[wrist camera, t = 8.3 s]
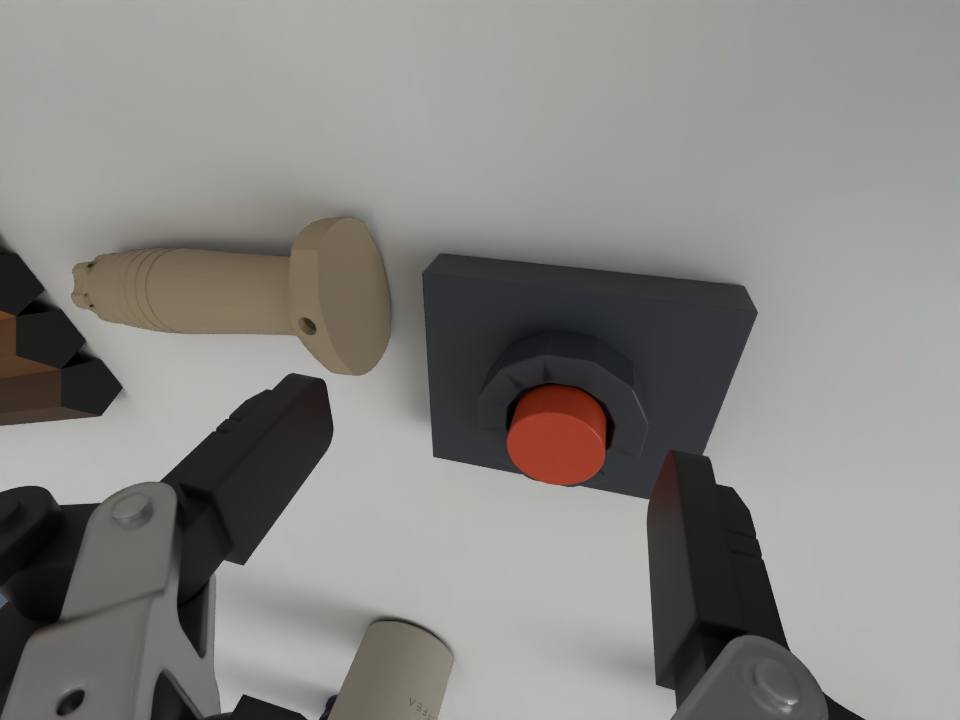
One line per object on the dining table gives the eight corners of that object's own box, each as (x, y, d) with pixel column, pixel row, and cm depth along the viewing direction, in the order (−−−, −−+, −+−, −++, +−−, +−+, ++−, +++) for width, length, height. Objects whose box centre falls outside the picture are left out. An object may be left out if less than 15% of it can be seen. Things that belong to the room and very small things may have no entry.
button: (613, 392, 17) (613, 422, 16) (598, 461, 19) (596, 493, 18) (517, 376, 18) (508, 405, 16) (512, 445, 20) (504, 475, 18)
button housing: (745, 285, 17) (772, 339, 14) (678, 471, 23) (687, 540, 20) (439, 252, 20) (404, 292, 17) (446, 428, 25) (420, 484, 22)
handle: (111, 210, 24) (369, 203, 19) (168, 321, 27) (399, 338, 23) (7, 242, 20) (299, 242, 15) (89, 366, 23) (348, 397, 19)
